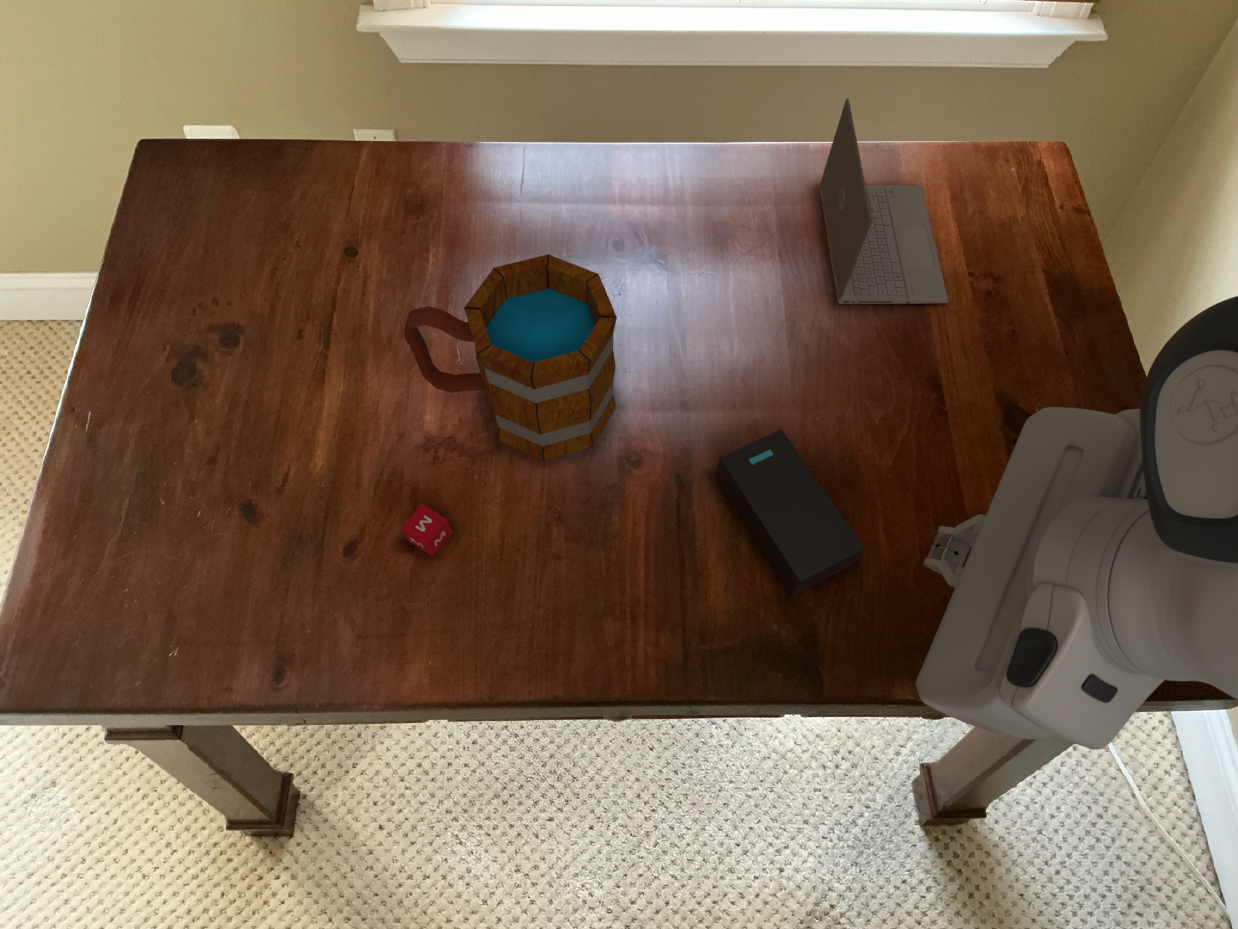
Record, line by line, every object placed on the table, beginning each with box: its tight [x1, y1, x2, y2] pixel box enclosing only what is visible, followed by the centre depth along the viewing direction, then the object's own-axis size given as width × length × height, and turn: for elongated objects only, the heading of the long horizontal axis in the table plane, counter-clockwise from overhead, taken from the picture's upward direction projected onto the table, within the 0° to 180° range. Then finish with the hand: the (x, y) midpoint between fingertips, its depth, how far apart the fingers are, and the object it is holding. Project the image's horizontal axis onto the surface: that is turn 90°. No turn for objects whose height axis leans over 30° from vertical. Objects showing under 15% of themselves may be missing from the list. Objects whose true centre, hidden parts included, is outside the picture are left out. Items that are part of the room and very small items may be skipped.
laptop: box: [819, 98, 949, 305], centre depth 91 cm, size 18×12×13 cm
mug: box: [403, 254, 618, 462], centre depth 79 cm, size 20×14×15 cm
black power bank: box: [714, 428, 866, 597], centre depth 78 cm, size 4×7×14 cm
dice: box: [401, 503, 453, 557], centre depth 77 cm, size 3×3×3 cm
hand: (937, 549), depth 57 cm, fingers closed
